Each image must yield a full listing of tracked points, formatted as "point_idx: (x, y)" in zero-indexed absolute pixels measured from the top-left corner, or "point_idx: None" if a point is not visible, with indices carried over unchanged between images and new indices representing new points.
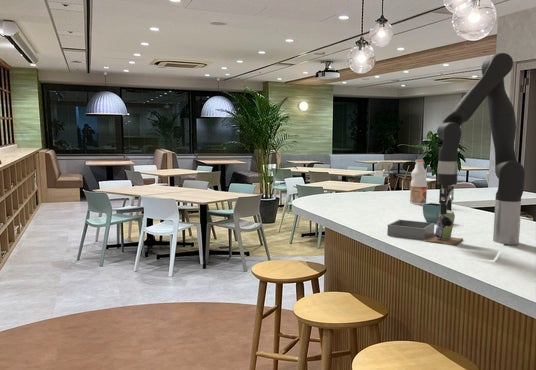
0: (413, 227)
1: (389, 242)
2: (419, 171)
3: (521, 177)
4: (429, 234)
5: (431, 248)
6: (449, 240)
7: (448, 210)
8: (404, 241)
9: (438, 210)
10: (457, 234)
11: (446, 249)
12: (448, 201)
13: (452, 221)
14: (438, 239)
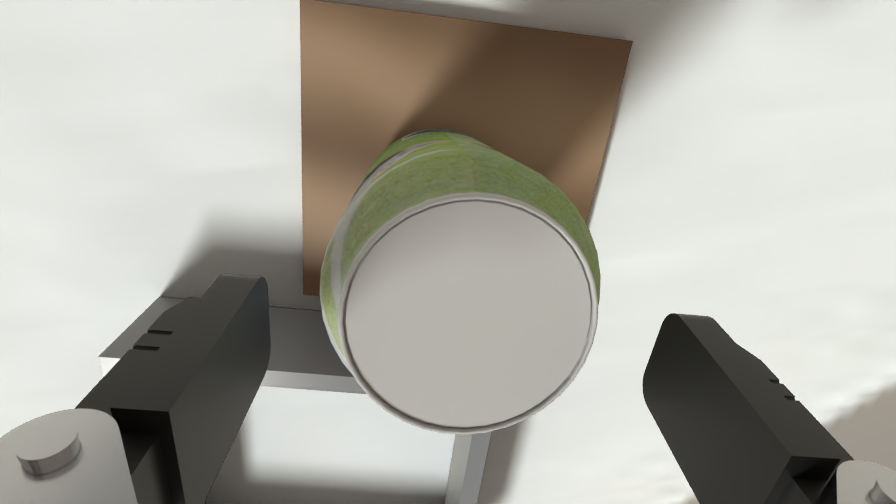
0: (471, 472)
1: (676, 489)
2: None
3: None
4: (323, 321)
5: (808, 235)
6: (482, 129)
7: (361, 322)
8: (610, 427)
9: None
10: (31, 85)
11: (824, 116)
12: (151, 502)
13: (515, 160)
14: None
